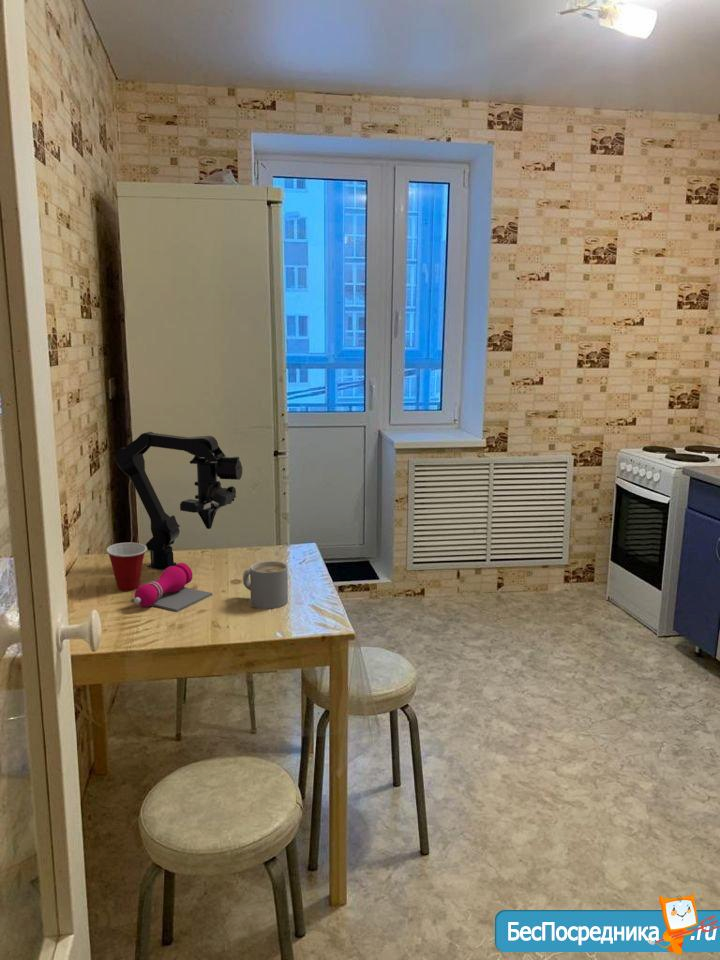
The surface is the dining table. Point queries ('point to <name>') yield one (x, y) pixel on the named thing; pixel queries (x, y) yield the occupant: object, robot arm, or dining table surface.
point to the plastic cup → (127, 564)
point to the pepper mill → (163, 584)
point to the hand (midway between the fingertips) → (208, 528)
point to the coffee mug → (267, 584)
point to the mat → (180, 599)
